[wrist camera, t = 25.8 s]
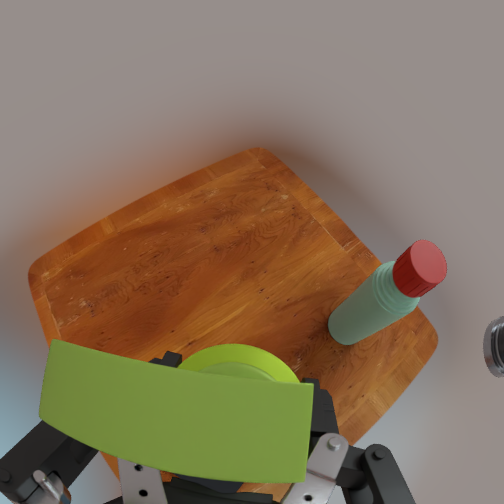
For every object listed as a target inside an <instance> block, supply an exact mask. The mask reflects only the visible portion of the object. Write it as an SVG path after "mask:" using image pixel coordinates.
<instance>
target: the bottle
mask: <svg viewBox="0 0 504 504" xmlns="http://www.w3.org/2000/svg"><path fill="white" fill-rule="evenodd" d="M395 262H396V261H390V262H387V263H384V264H382V265H380V266H379V267H378V268H377V269H376V270H375V271H374V272H373V273H372V274H371V275H370V276H369V277H368V278H367V279H366V280H365V281H364V282H363V283H362V284H361V285H360V286H359V287H358V288H357V289H356V290H355V291H354V292H353V293H352V294H351V295H350V296H349V297H348V298H347V299H346V300H345V301H344V302H343V303H342V304H340V305H339V306H338V307H337V308H336V309H335V310H334V311H333V312H332V313H331V315H330V317H329V320H328V328H329V332H330V334H331V336H332V337H333V338H334V339H335V340H336V341H337V342H339V343H341V344H344V345H351V344H354V343H356V342H358V341H360V340H362V339H364V338H366V337H368V336H370V335H372V334H374V333H375V332H377V331H379V330H381V329H383V328H385V327H386V326H388V325H390V324H392V323H393V322H395V321H397V320H399V319H400V318H402V317H404V316H405V315H407V314H409V313H410V312H412V311H413V310H414V309H415V307H416V306H417V304H418V302H419V300H420V297H417V298H411V297H408V296H406V295H404V294H403V293H402V292H400V290H399V289H398V288H397V287H396V285H395V283H394V280H393V275H392V270H393V265H394V263H395Z"/></svg>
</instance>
